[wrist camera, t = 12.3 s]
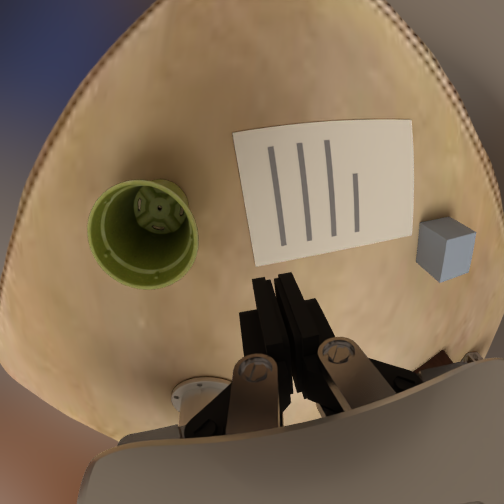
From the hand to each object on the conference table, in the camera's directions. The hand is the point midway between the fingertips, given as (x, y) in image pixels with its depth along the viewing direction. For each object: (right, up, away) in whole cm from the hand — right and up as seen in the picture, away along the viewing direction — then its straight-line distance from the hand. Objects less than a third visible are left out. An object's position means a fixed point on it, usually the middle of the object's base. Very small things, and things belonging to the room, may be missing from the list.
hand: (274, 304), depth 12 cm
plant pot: (-11, +7, +17) cm, 21 cm away
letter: (+9, +9, +18) cm, 22 cm away
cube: (+25, +4, +22) cm, 33 cm away
